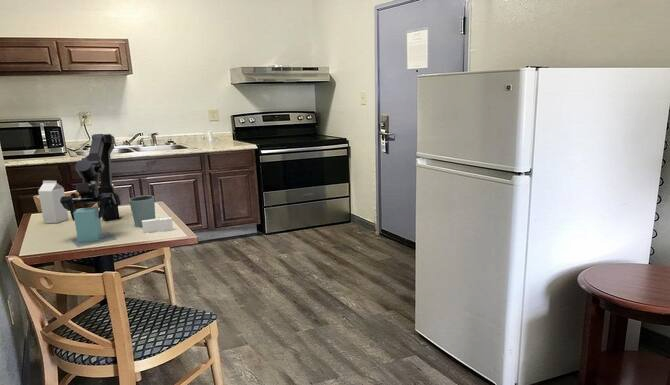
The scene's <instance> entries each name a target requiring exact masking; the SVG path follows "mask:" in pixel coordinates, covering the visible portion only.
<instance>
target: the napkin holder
mask: <svg viewBox="0 0 670 385" xmlns="http://www.w3.org/2000/svg"><path fill="white" fill-rule="evenodd" d="M142 226H143V227H142V232H143V234H144V233H157V232H167V231H173V230H174V224H173V218H172V217H171V216H170V217H164V218H160V217H157V218H155V219H150V220H143V221H142Z"/></svg>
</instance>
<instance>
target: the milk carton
mask: <svg viewBox="0 0 670 385" xmlns="http://www.w3.org/2000/svg"><path fill="white" fill-rule="evenodd" d="M57 181H58V180H42V185H41V186H40V188H38V191H37V192H38V196H39V197H38V198H39V202H40V209H41V213H42V221H43V223H44V224H58V223H61V222H64V221H65V222H66V221H68V220H70V219H69V213H68V209H65V208H64V207H63V205H62V204H61V202H60V199H61V197H62V196H66V193H65V188H64V187H63V186H62V185H60V184H59V183H57Z"/></svg>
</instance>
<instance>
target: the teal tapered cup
mask: <svg viewBox="0 0 670 385" xmlns="http://www.w3.org/2000/svg"><path fill="white" fill-rule="evenodd" d="M155 201H156V200H155V196H154V195H146V194H145V195H139V196H134V197H131V198H129V199H128V202H129V206H130V210H131V214H132V218H133V223H134V226H135V227H137V228H138V227H139V228H143V226H142V221H143V220H150V219H156V208H155V207H156V205H155Z"/></svg>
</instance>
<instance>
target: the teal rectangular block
mask: <svg viewBox="0 0 670 385" xmlns="http://www.w3.org/2000/svg"><path fill="white" fill-rule="evenodd" d="M99 209H100V207H98V206H93V207H92V206H91V207H82V208H78V209H76V211H75V212H74V213H73V214H74V220H75V221H74V225H75V231H76V239H77V238H78V243H83V242H93V241H98V240H99V239H100V238H101V237H102V236H103V234H102V233H103V228H102V221H101V218H100V219H99V218H98V214H99Z"/></svg>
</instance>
